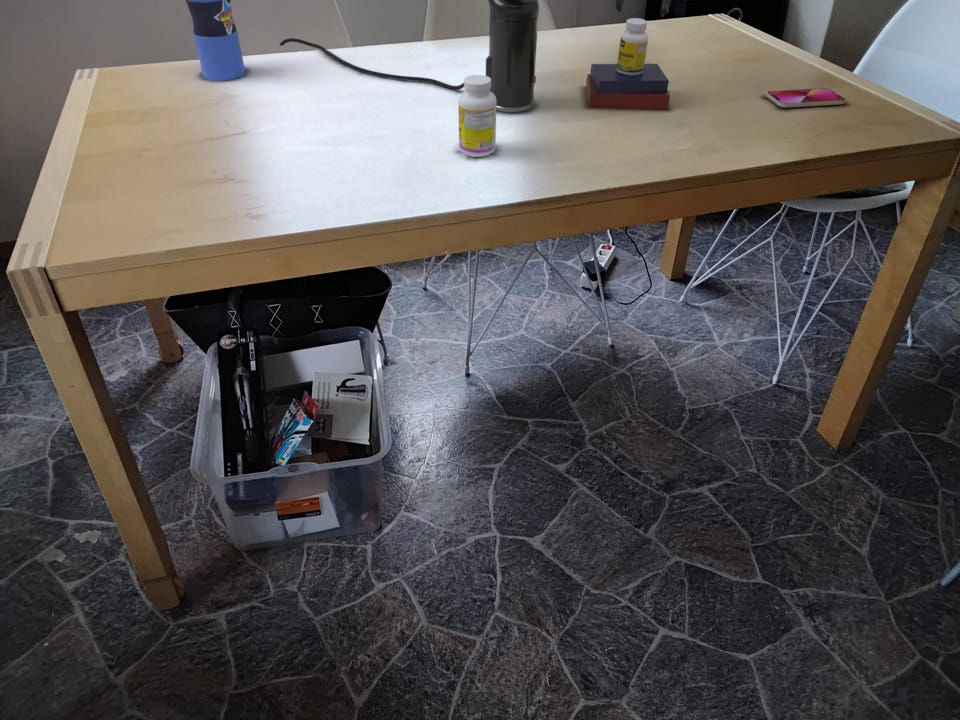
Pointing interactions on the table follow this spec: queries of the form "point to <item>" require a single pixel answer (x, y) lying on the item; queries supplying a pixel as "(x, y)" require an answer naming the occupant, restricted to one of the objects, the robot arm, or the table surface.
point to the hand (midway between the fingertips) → (640, 12)
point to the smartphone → (805, 97)
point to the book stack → (627, 88)
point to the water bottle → (216, 39)
